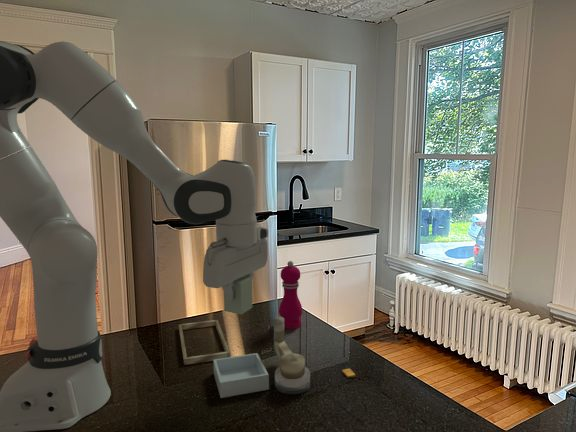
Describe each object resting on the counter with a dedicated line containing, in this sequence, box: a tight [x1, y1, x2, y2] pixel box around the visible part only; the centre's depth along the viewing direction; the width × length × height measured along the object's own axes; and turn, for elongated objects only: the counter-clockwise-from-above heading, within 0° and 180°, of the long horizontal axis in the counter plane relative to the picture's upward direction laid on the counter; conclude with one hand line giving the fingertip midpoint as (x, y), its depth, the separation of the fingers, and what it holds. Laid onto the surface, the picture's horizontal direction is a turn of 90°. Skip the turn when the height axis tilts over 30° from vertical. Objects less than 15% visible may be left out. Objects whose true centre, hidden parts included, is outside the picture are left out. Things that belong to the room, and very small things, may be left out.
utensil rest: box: [178, 319, 232, 366], centre depth 116 cm, size 12×23×2 cm, turn 18°
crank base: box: [274, 366, 356, 395], centre depth 96 cm, size 19×8×3 cm, turn 108°
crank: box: [273, 316, 306, 378], centre depth 98 cm, size 15×6×8 cm, turn 18°
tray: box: [212, 352, 270, 399], centre depth 96 cm, size 11×11×4 cm
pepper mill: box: [278, 260, 304, 330], centre depth 126 cm, size 7×7×20 cm
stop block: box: [223, 276, 253, 315], centre depth 93 cm, size 4×4×7 cm
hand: (238, 295), depth 93 cm, fingers closed on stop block, 4 cm apart
